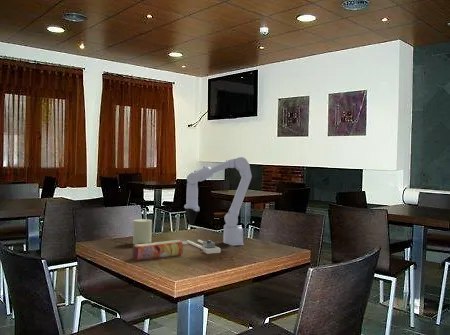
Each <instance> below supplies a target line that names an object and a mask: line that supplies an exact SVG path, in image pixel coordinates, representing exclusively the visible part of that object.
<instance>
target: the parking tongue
mask: <svg viewBox="0 0 450 335" xmlns="http://www.w3.org/2000/svg"><path fill="white" fill-rule="evenodd" d="M180 241H181V242H182V244H183V245H189V243H187V240H180Z"/></svg>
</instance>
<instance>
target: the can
mask: <svg viewBox="0 0 450 335" xmlns="http://www.w3.org/2000/svg"><path fill="white" fill-rule="evenodd" d="M152 223H153V219H145V218H138V219H133V223H132V224H133V229H132V231H133V232H132V245H134V244H135V245H136V244H146V243H152V225H153V224H152Z"/></svg>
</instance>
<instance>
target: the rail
mask: <svg viewBox="0 0 450 335" xmlns="http://www.w3.org/2000/svg"><path fill="white" fill-rule="evenodd" d="M186 241H187V243H189V244H190V245H192V246H194V247H196V248H198V249H200V250H199V251H200V252H202V253H204V254H206V255H209V254H210V255H211V254H221V252H222V251H221V248H220V247H218V246H216V245H215V248H212V249H207V248H205V247H203V241H204V240H202V239H197V242H198V243H200V244H202V245H200V244H197V243H196V242H193V241H192V240H188V239H187V240H186ZM189 244H188V245H189Z"/></svg>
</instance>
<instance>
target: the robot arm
mask: <svg viewBox="0 0 450 335" xmlns="http://www.w3.org/2000/svg"><path fill="white" fill-rule="evenodd" d="M250 165H251V164H250V163H249V161H248V160H247V159H246V158H245V157H243V156H240V157H236V158H232V159H228V160H226V161H223V162H221V163H218V164H217V165H214V166H212V167H210V166H206V165H205V166H202V168H201V169H198V170H196V169H195V170H194V171H193V172H190V173H189V174H187V176H186V181H187V182H186V194H185V195H186V198H185V200H186V202H185V203H186V204H184V206H183V208H184V209H185V210H184V213H185V214H186V216H187V220H188V221H187V222H188V225H194V224H195V221H196V218H197V215H198V213H199V212H200V206H199V199H198V198H199V187H198V186H199V185H198V183H199V182H203V181H205V180H207V179H211V178H212V177H213V175H214V174H215V173H217V172H220V171H224V170H226V169H229V168H230V169H236V170H237V171H238V173H239V175H240V177H241V178H240V180H239V181H240V182H239V184H238V187H237V189H236V191H235V194H234V197H233V200H232V202H231V205H230V208H229V209H228V212H227V213H226V214H225V215H224V216H223V218H224V222H225V224H224V225H223V238H222V240H223V244H227V245H229V246H244V229H243V227H242V226H239V225H238V224H239V218H238V217H239V214H240V210H241V207H242V205H243V201H244V199H245V196H246V194H247V191H248V189H249V186H250V183H251V181H252V177H253V176H252V171H251V166H250Z"/></svg>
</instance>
